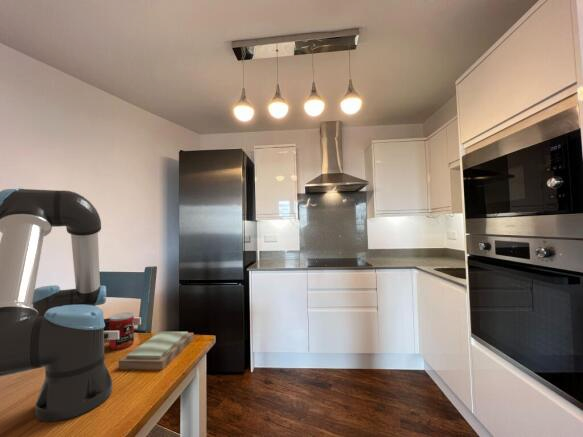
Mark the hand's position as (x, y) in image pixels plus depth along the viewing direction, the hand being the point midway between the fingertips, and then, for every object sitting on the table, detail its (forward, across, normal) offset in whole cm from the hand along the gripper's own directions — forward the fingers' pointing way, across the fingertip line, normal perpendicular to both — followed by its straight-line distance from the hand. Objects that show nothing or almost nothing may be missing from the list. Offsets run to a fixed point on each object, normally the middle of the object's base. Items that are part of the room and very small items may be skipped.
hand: (130, 327), depth 101 cm
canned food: (-3, 0, -7) cm, 7 cm away
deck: (+14, +6, -6) cm, 17 cm away
